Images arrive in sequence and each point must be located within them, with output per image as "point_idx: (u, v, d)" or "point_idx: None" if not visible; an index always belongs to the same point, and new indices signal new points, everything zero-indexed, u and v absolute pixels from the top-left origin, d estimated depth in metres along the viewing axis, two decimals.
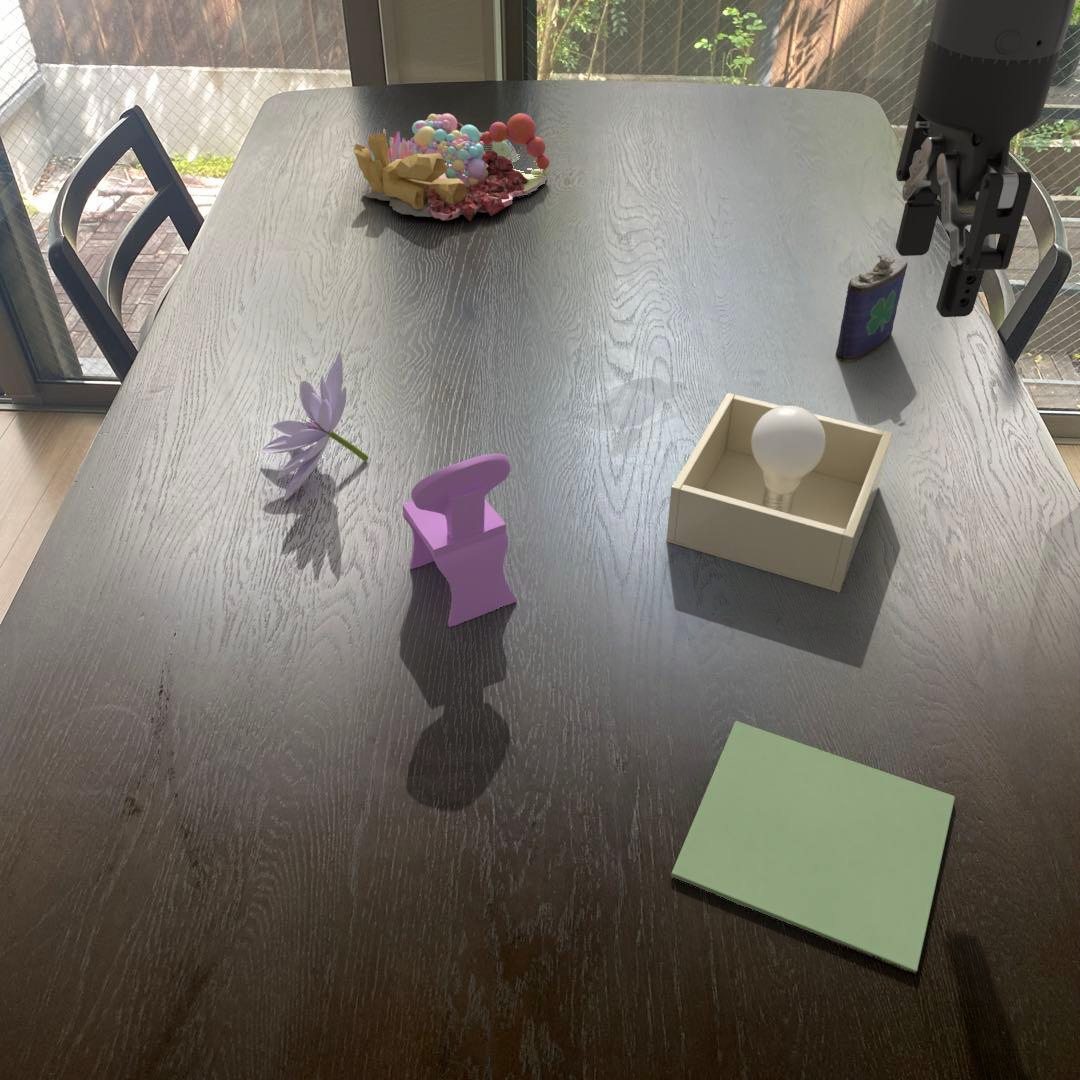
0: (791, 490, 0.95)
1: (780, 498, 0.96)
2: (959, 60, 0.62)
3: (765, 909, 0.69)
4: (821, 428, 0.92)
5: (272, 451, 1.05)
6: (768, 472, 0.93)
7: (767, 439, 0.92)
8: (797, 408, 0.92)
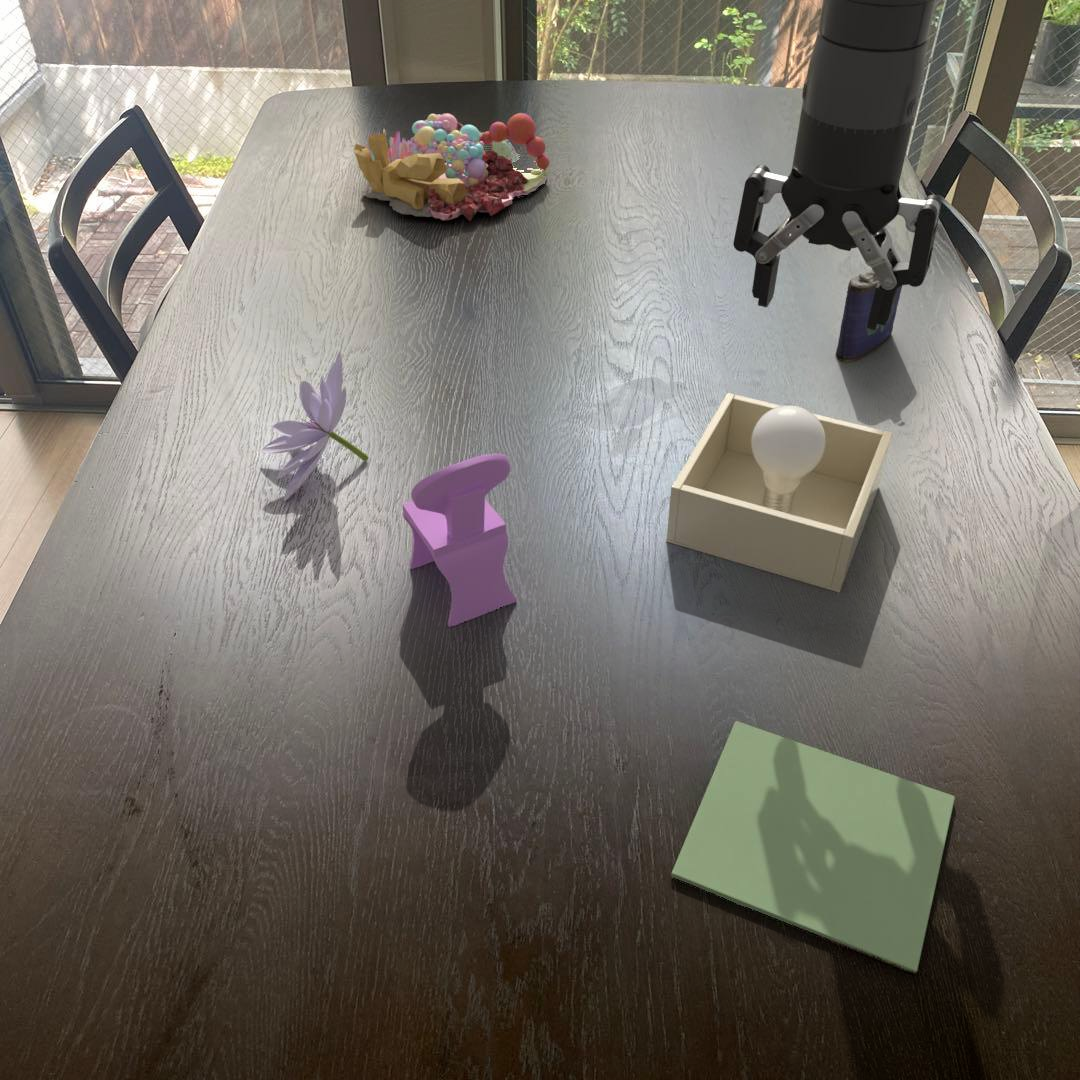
0: (791, 490, 0.95)
1: (780, 498, 0.96)
2: (883, 134, 0.71)
3: (765, 909, 0.69)
4: (821, 428, 0.92)
5: (272, 451, 1.05)
6: (768, 471, 0.93)
7: (767, 439, 0.92)
8: (797, 408, 0.92)
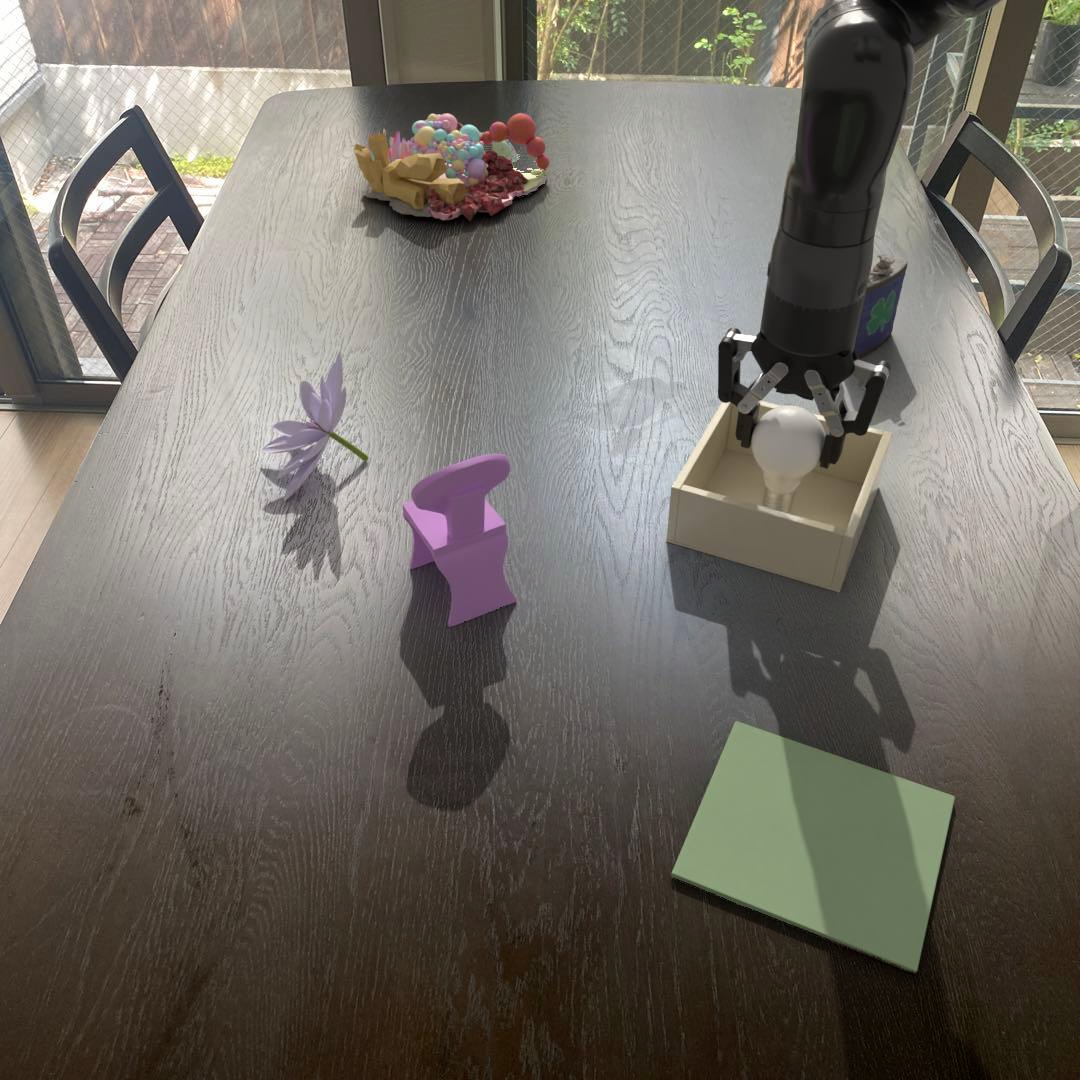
0: (791, 490, 0.95)
1: (780, 498, 0.96)
2: (837, 312, 0.81)
3: (765, 909, 0.69)
4: (821, 428, 0.92)
5: (272, 451, 1.05)
6: (768, 472, 0.93)
7: (767, 439, 0.92)
8: (797, 408, 0.92)
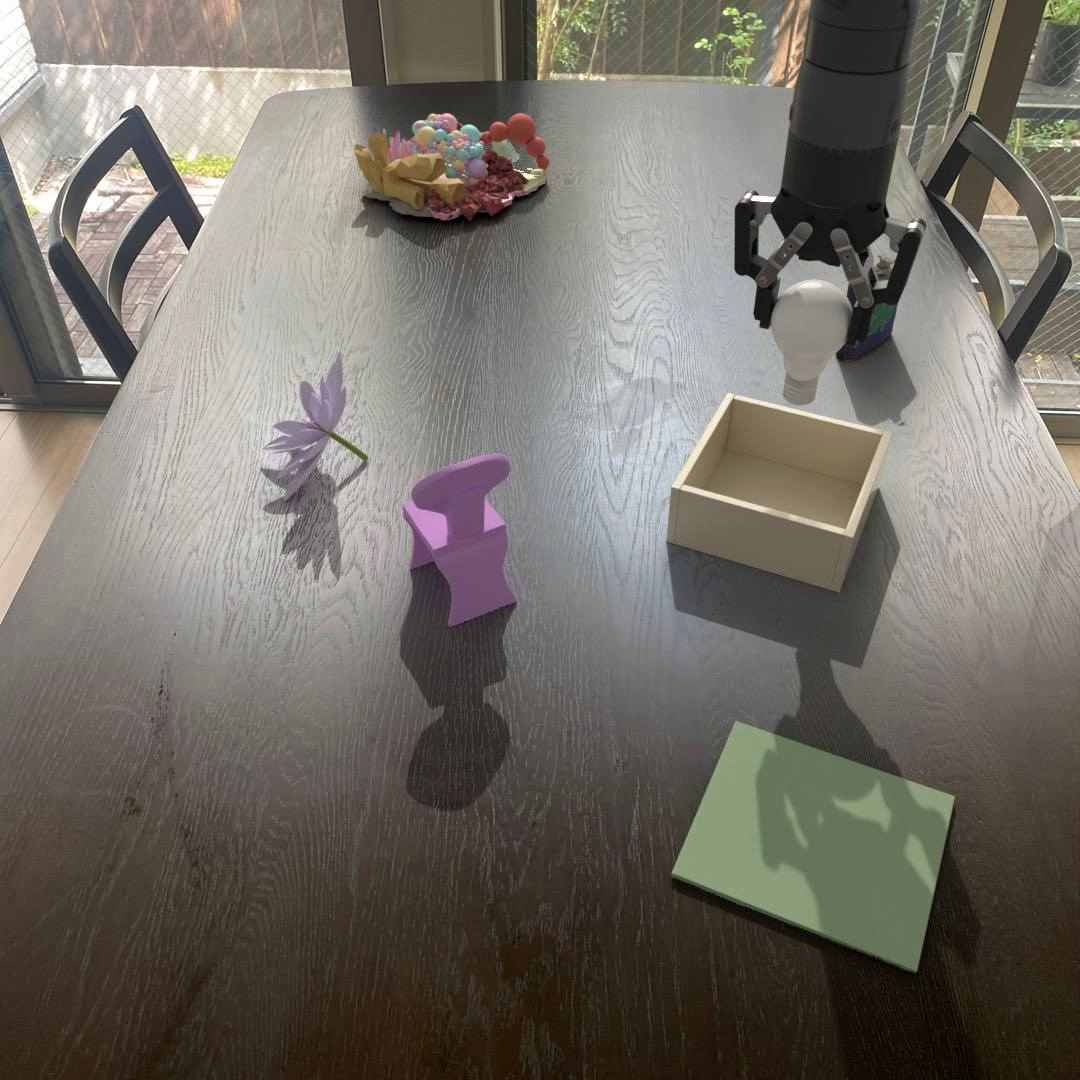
0: (815, 375, 0.87)
1: (803, 385, 0.88)
2: (868, 154, 0.73)
3: (765, 909, 0.69)
4: (848, 302, 0.84)
5: (272, 451, 1.05)
6: (790, 352, 0.85)
7: (789, 314, 0.83)
8: (821, 281, 0.84)
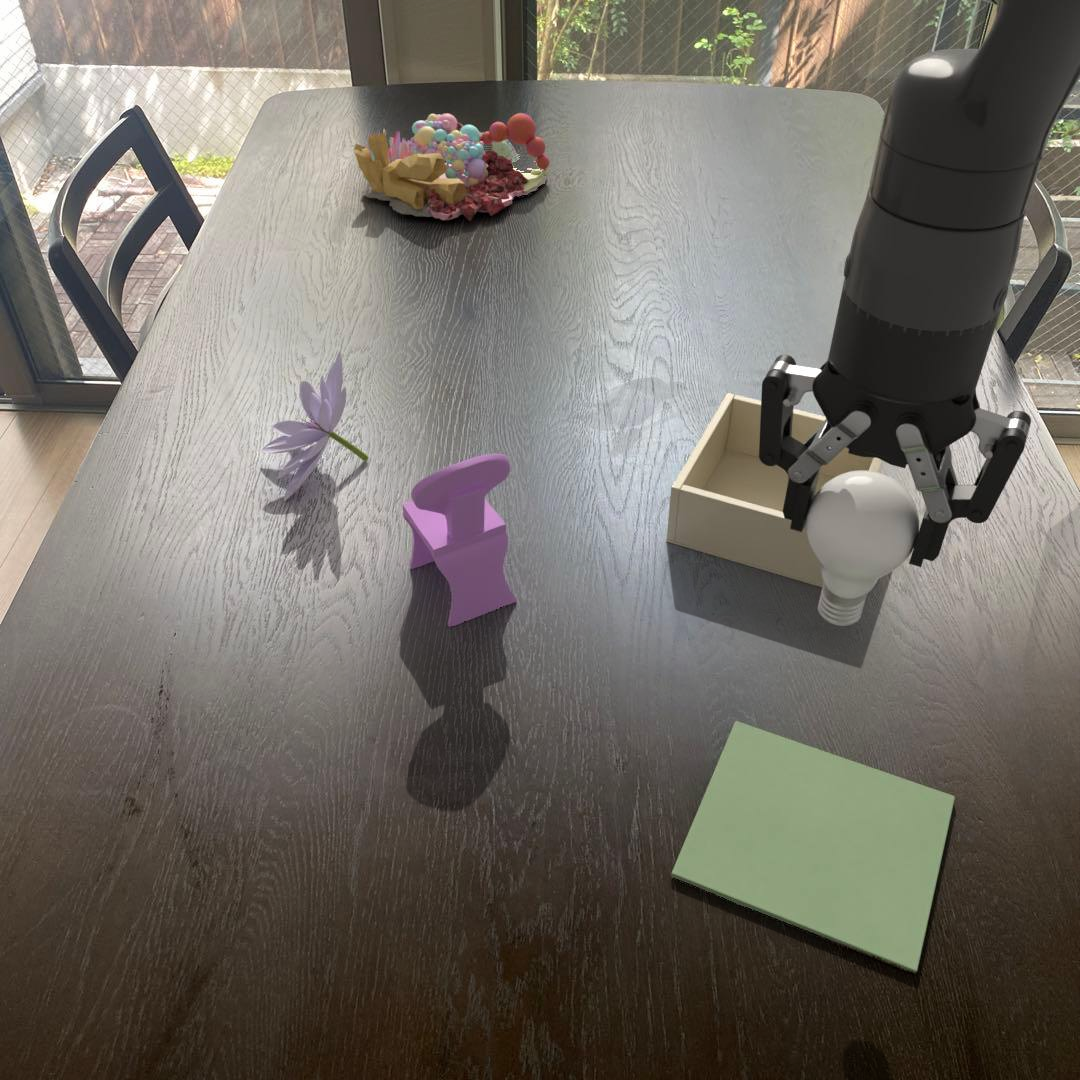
0: (863, 593, 0.65)
1: (846, 604, 0.66)
2: (959, 336, 0.50)
3: (765, 909, 0.69)
4: (913, 507, 0.61)
5: (272, 451, 1.05)
6: (831, 568, 0.63)
7: (832, 522, 0.61)
8: (877, 476, 0.62)
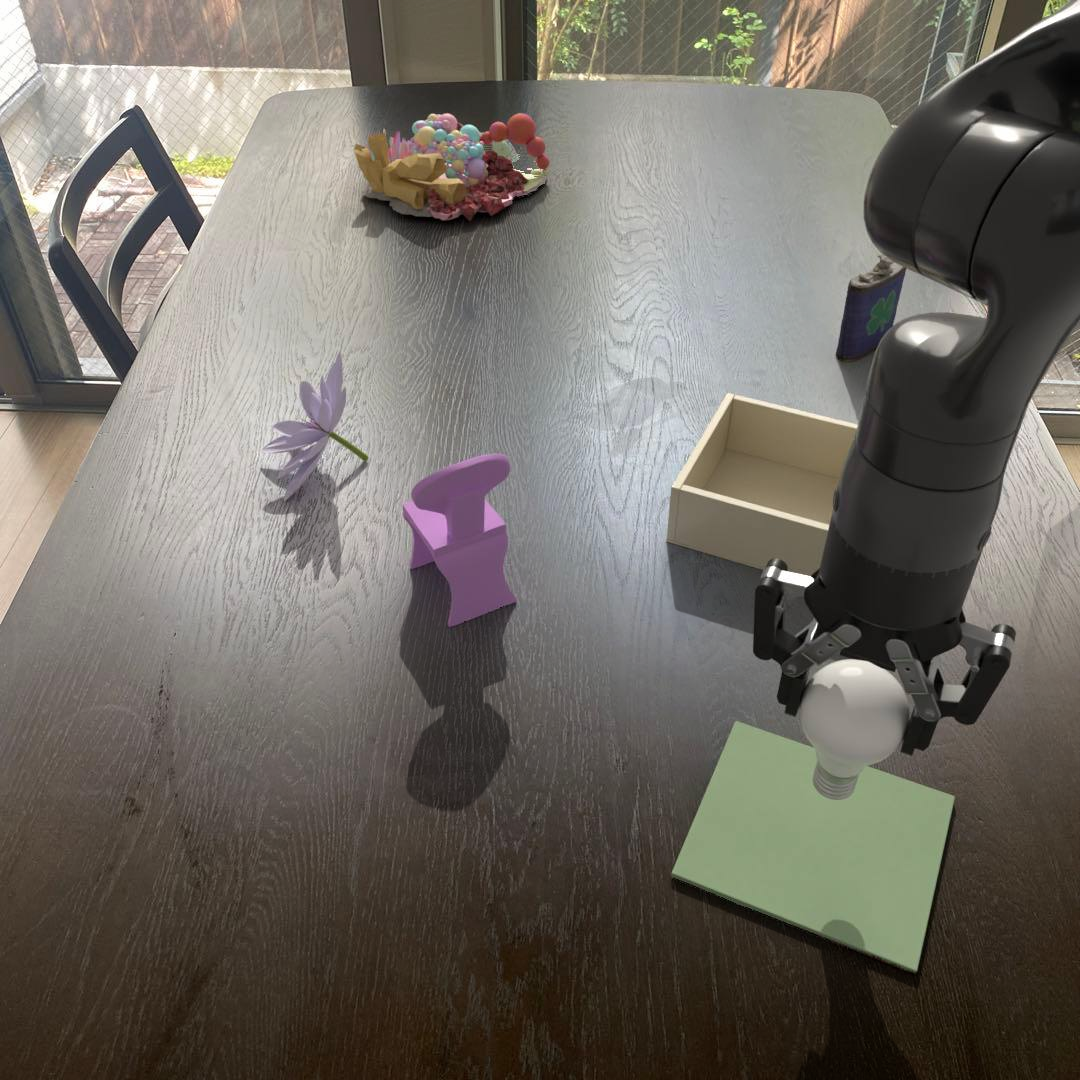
0: (856, 774, 0.67)
1: (840, 782, 0.67)
2: (945, 576, 0.52)
3: (765, 909, 0.69)
4: (904, 699, 0.63)
5: (272, 451, 1.05)
6: (825, 756, 0.65)
7: (825, 717, 0.63)
8: (868, 669, 0.63)
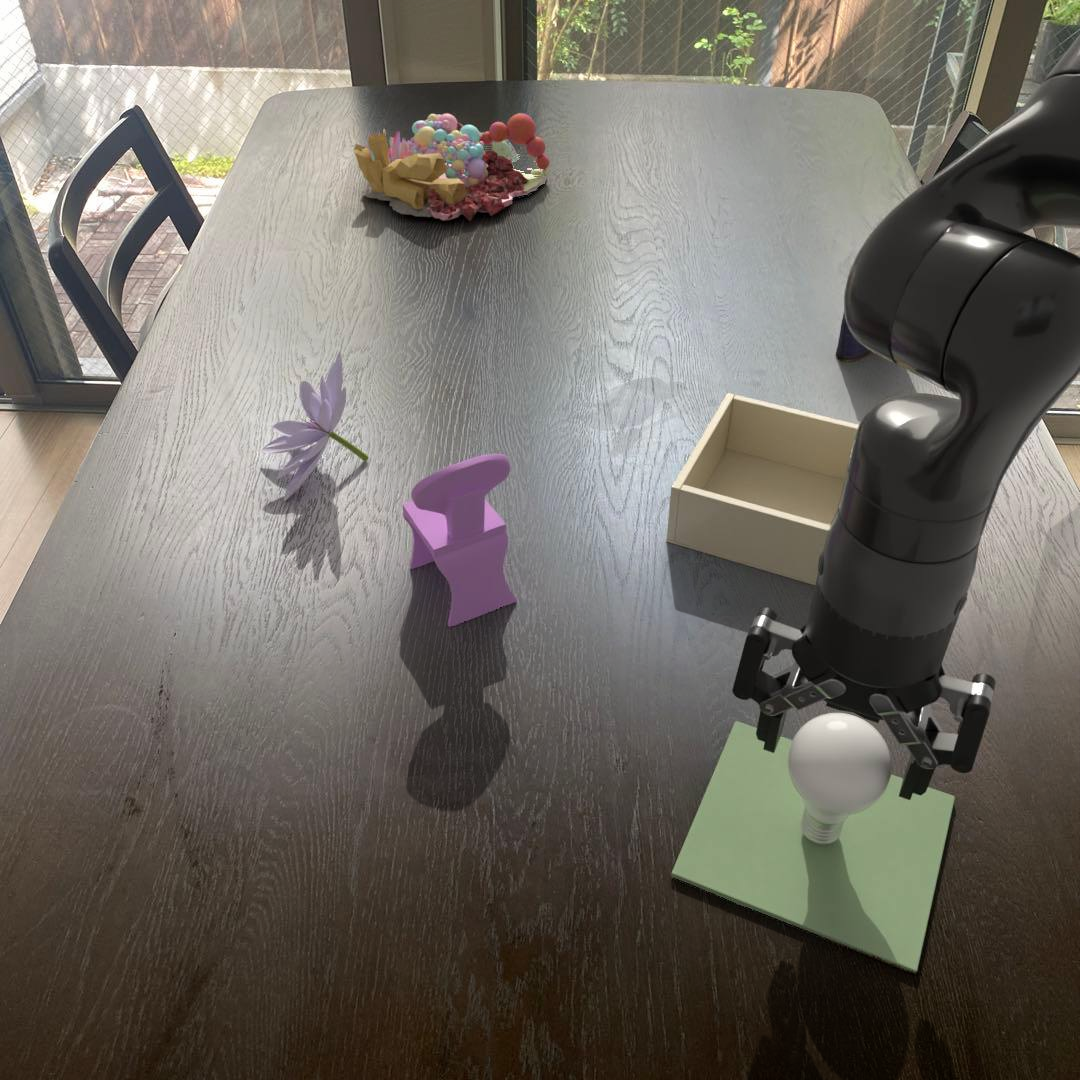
0: (842, 821, 0.70)
1: (826, 828, 0.71)
2: (923, 639, 0.55)
3: (765, 909, 0.69)
4: (886, 753, 0.67)
5: (272, 451, 1.05)
6: (812, 805, 0.68)
7: (812, 770, 0.66)
8: (852, 724, 0.67)
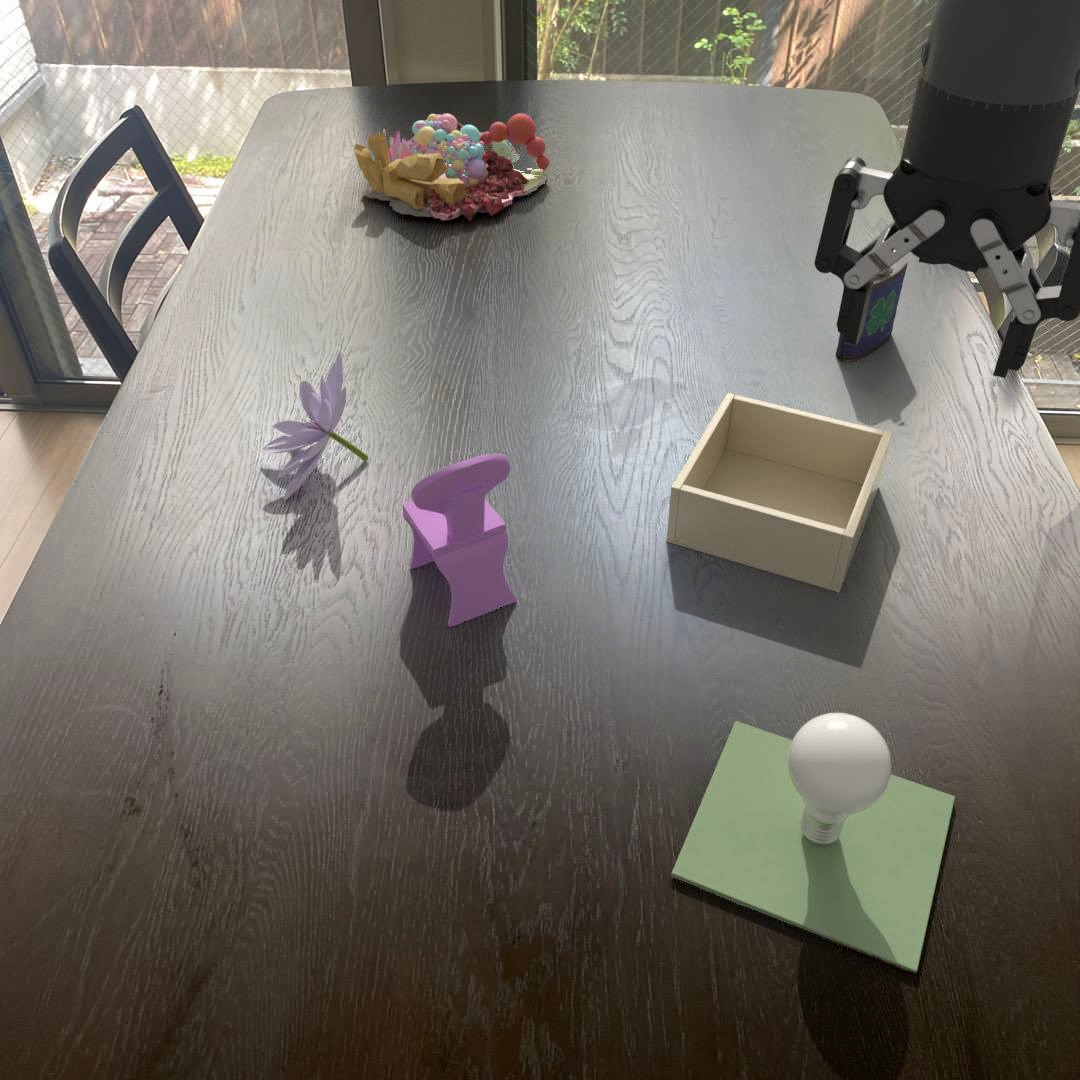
0: (842, 821, 0.70)
1: (826, 828, 0.71)
2: (1041, 111, 0.51)
3: (765, 909, 0.69)
4: (886, 752, 0.67)
5: (272, 451, 1.05)
6: (812, 805, 0.68)
7: (812, 769, 0.66)
8: (853, 723, 0.67)
